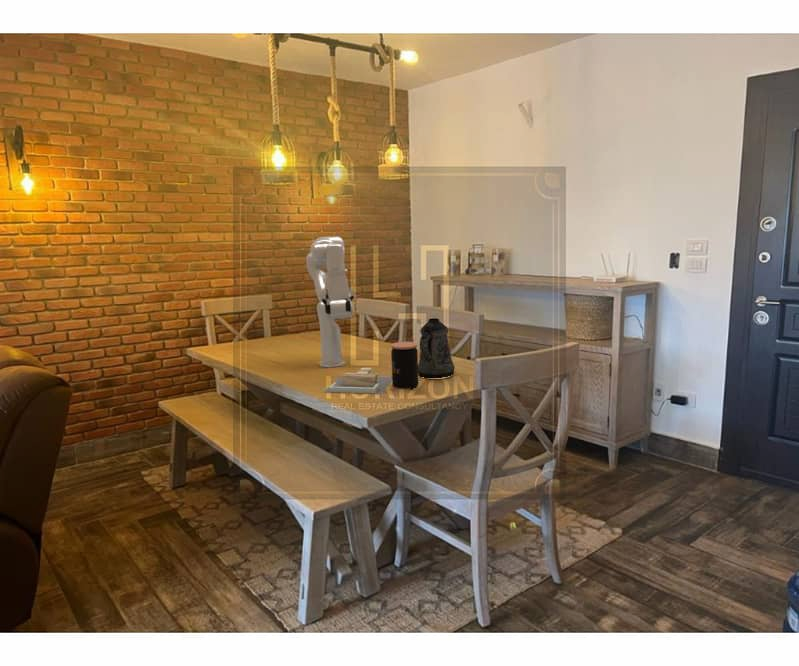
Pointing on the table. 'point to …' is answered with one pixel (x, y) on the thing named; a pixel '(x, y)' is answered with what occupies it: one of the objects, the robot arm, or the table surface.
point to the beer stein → (435, 351)
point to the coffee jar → (404, 365)
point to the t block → (361, 378)
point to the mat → (359, 387)
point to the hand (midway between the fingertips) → (338, 312)
